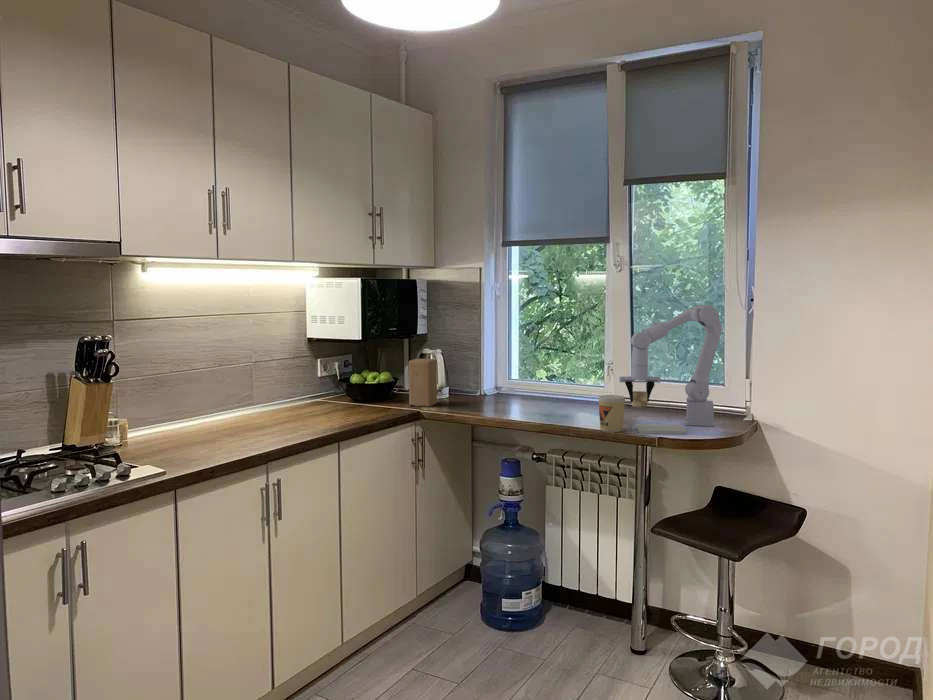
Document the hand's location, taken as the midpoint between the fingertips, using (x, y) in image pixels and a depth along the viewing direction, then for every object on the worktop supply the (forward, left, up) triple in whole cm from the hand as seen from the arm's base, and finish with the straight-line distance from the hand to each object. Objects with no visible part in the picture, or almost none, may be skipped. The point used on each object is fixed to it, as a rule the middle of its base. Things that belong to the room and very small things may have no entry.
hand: (639, 401), depth 266 cm
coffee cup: (+11, +12, -9) cm, 18 cm away
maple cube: (0, 0, -2) cm, 2 cm away
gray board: (-6, +12, -8) cm, 16 cm away
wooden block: (+88, -37, -9) cm, 96 cm away
